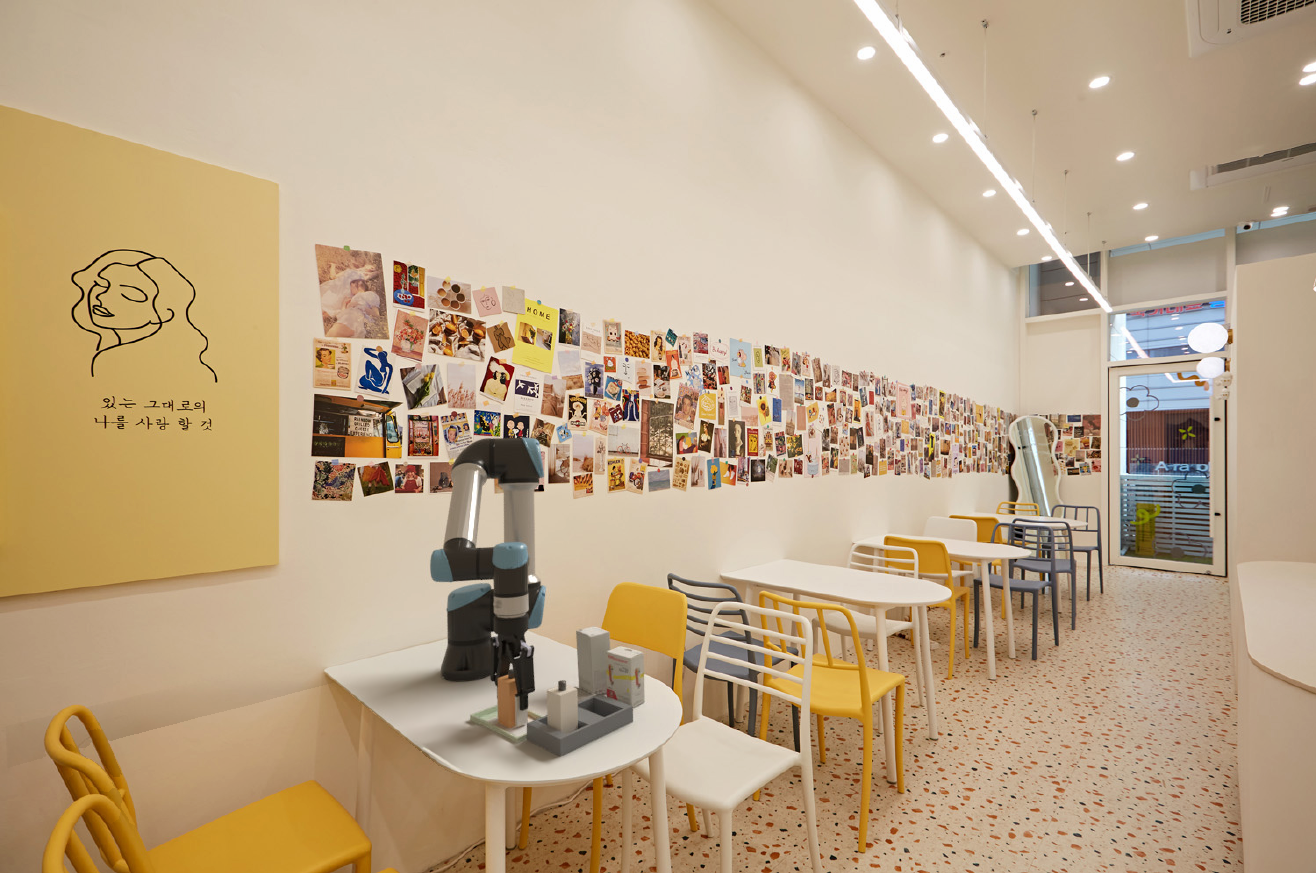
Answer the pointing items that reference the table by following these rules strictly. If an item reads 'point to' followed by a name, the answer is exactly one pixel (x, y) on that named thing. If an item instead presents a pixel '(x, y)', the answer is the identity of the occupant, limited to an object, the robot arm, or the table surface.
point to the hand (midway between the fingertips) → (512, 719)
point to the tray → (492, 713)
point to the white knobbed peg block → (562, 708)
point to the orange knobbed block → (507, 699)
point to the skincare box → (592, 659)
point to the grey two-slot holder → (582, 725)
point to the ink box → (625, 675)
